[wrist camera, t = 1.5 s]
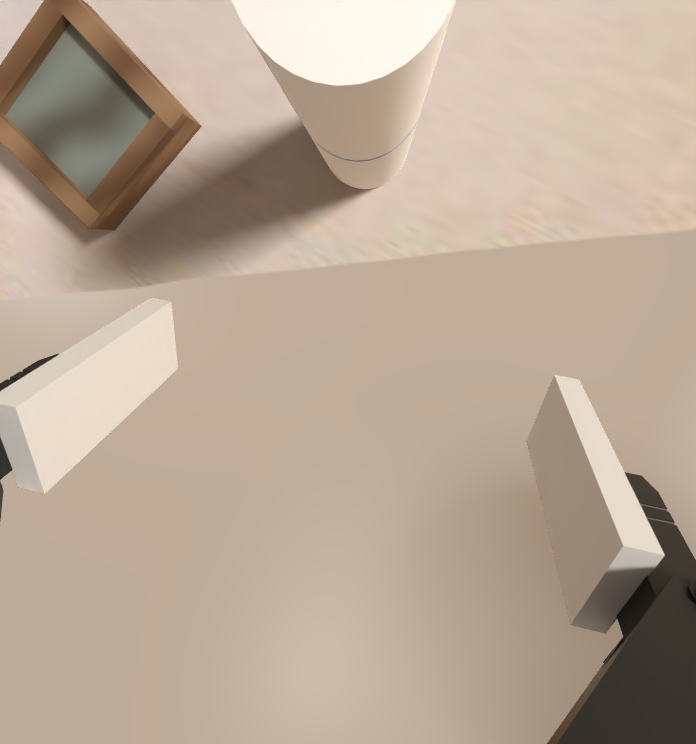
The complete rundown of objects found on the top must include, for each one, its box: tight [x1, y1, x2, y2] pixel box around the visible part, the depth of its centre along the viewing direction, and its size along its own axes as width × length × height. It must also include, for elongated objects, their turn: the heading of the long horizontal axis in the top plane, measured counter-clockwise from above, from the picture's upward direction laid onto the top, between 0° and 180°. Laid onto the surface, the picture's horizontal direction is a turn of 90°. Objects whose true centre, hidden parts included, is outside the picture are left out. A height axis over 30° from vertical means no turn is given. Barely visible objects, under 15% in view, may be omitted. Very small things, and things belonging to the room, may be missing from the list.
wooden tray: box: [0, 0, 201, 230], centre depth 36 cm, size 12×12×4 cm
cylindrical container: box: [232, 0, 456, 189], centre depth 25 cm, size 7×7×25 cm
